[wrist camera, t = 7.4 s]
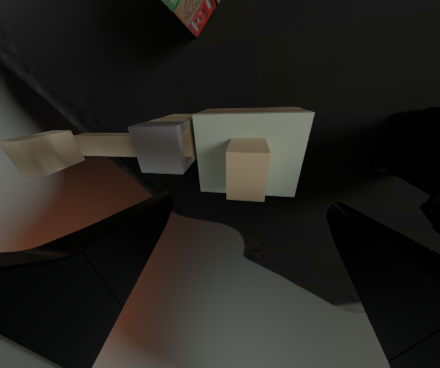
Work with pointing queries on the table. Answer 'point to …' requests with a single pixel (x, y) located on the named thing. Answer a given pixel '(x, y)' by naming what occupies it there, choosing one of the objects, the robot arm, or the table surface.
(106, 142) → the wooden mallet
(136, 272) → the robot arm
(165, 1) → the stack of blocks
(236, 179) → the plate with block handle
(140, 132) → the toolbox
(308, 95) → the table surface
